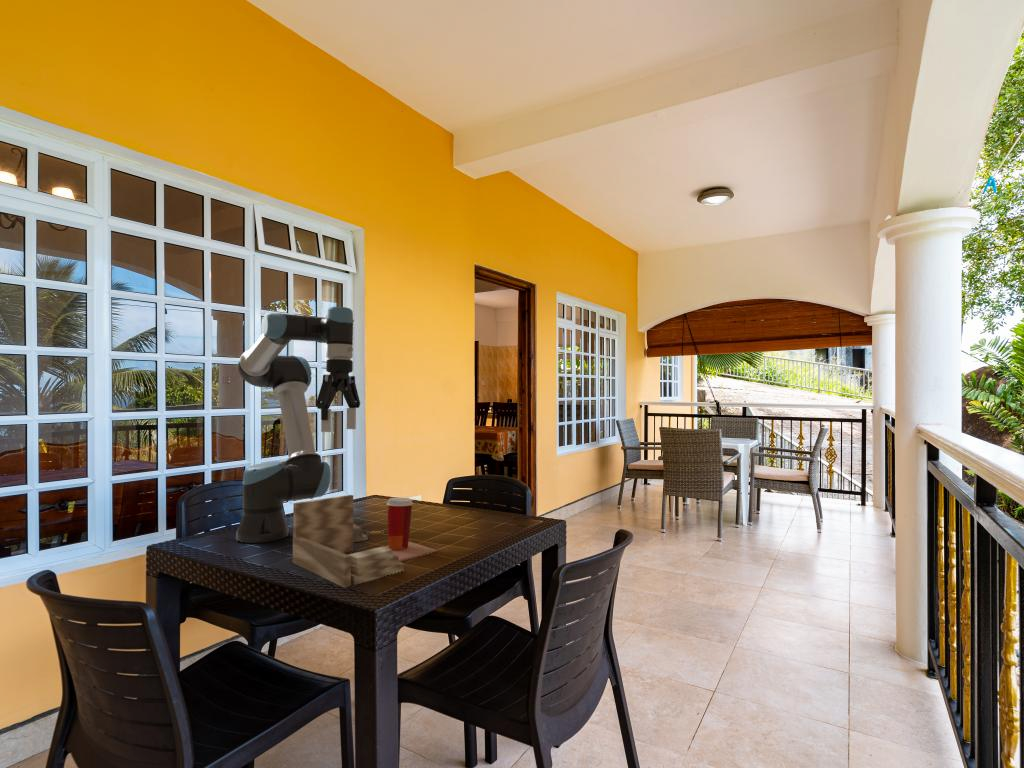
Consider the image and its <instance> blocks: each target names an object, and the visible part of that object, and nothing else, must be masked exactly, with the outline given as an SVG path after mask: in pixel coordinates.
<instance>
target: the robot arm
mask: <svg viewBox="0 0 1024 768" xmlns="http://www.w3.org/2000/svg"><path fill="white" fill-rule="evenodd" d="M353 314H354V312H353V309H351V308H350V307H345V306H330V307H328V308H327V309H326V315H325V317H321V316H320V317H319V316H309V315H297V314H291V313H282V312H268V313H265V315H264V316H263V318H262V319H263V320H262V324H261V326H262V327H261V330H262V331H261V333H262V334H261V335H260V336H259V338H258V339H257V340H256V342H255V343H254V344H253V345H252V346H251V348H250V349H248V350H246V351H244V352H243V353H242V354H241V355H240V357H239V359H238V360H237V361H238V362H237V371H238V373H239V375H240V377H241V378H242V379H243V381H245V382H246V383H248V384H250V385H252V386H254V387H258V388H271V389H272V392H273V395H274V396H275V397H278V401H279V406H280V411H281V412H280V413H281V418H282V419H281V420H282V424H283V431H284V437H285V442H286V447H287V448H286V449H287V455H288V458H286V460H285V461H284V462H282V461H280V460H279V461H268V462H267V461H266V462H261V463H257V464H253V465H250V466H248V467H246V468H245V469H244V471H243V477H242V516H241V518H240V520H239V524H238V527H237V530H236V533H235V540H236V541H237V542H238V541H240V542H239V543H243V542H245V544H257V543H258V544H259V543H267V542H268V543H270V542H275V541H278V540H281V539H282V540H283V539H284V538H286V537H288V536H289V526H288V524H287V520H286V517H285V514H284V509H283V505H284V502H289V501H290V502H291V501H299V500H307V499H311V500H313V499H315V498H322V497H323V496H325V495H326V494H327V492H328V490H329V488H330V484H331V466H330V465H329V463H328V462H326V461H322V457H321V455H320V453H317V452H316V449H315V444H314V438H313V433H312V429H311V428H312V426H311V423H310V417H309V412H308V407H307V406H308V405H307V400H306V396H305V393H306V392H307V391H308V389H309V386H311V382H312V368H311V366H310V363H309V361H308V360H307V359H306V358H304V357H303V356H295V355H279V354H280V353H281V352H282V351H283V350H284V349H285V347H286V346H287V345H288V344H289V343H290V342H291V341H303V342H304V341H305V342H306V341H308V342H316V343H321V344H322V343H323V344H326V351H325V352H326V355H325V357H326V358H327V359H326V364H325V365H326V366H325V367H326V369H325V371H326V372H327V373H329V374H323V375H322V383H321V386H320V389H319V392H318V396H317V398H316V403H315V407H316V408H317V409H318V410H320V419H321V420H320V422H321V423H320V426H321V427H320V432H321V433H331V432H332V408H330V407H331V406H332V403H333V401H334V399H335V397H336V395H337V393H338V392H339V391H340V393H342V396H343V397H344V399H345V402H346V404H347V408H346V430H356V428H357V426H356V425H357V409H359V408H360V405H361V400H360V397H359V392H358V390H357V385H356V376H355V375H350V373H352V372H353V370H354V369H353V367H354V366H353V365H354V362H353V360H352V359H353V356H354V355H353V354H354V353H353V352H354V348H353V346H354V343H353V342H354V341H353V340H354V320H355V319H354V315H353Z"/></svg>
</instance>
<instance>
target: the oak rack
mask: <svg viewBox="0 0 1024 768" xmlns="http://www.w3.org/2000/svg"><path fill="white" fill-rule="evenodd" d="M292 504H293V507H292V508H293V514H292V515H293V517H292V519H293V522H292V523H293V526H292V527H293V529H292V530H293V533H292V564H295V566H296V565H297V566H299V567H301V568H302V569H305V570H307V571H309V572H310V573H313V574H315V575H317V576H319V577H322V578H323V579H326V580H328V581H329V582H331V583H334V584H335V585H338V586H339V587H342V588H344V589H345V588H348V587H349V588H350V587H351V585H352V584H351V556H349V555H348V554H346V553H349V552H353V551H354V542H353V523H354V494H353V495H352V494H346V495H340V496H333V497H326V498H321V499H320V498H319V499H314V500H313V499H311V500H306V501H299V502H293V503H292Z"/></svg>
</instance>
